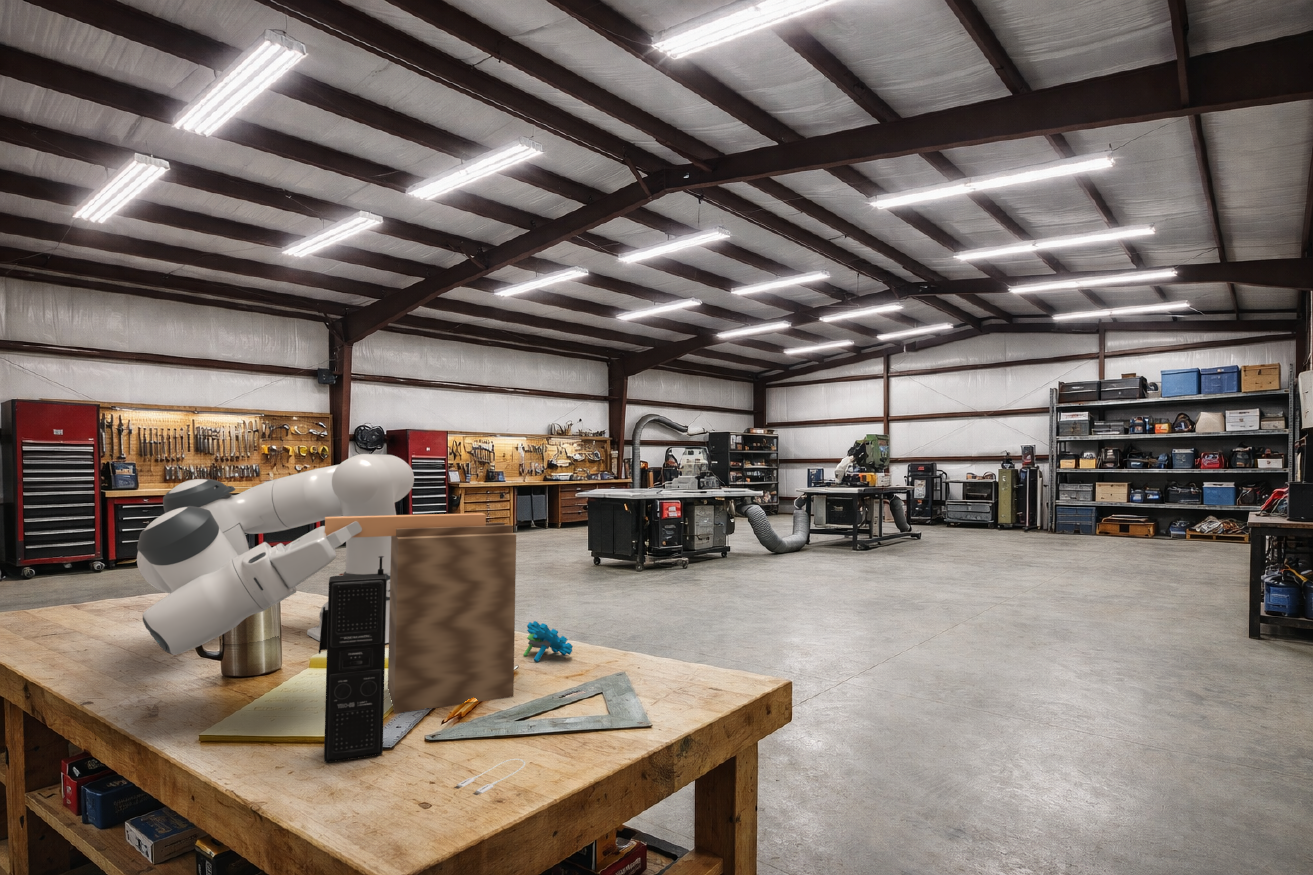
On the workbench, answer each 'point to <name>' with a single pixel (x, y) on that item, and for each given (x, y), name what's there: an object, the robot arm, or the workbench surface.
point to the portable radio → (354, 665)
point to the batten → (402, 522)
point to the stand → (451, 615)
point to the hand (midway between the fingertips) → (359, 523)
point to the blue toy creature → (546, 640)
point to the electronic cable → (488, 786)
